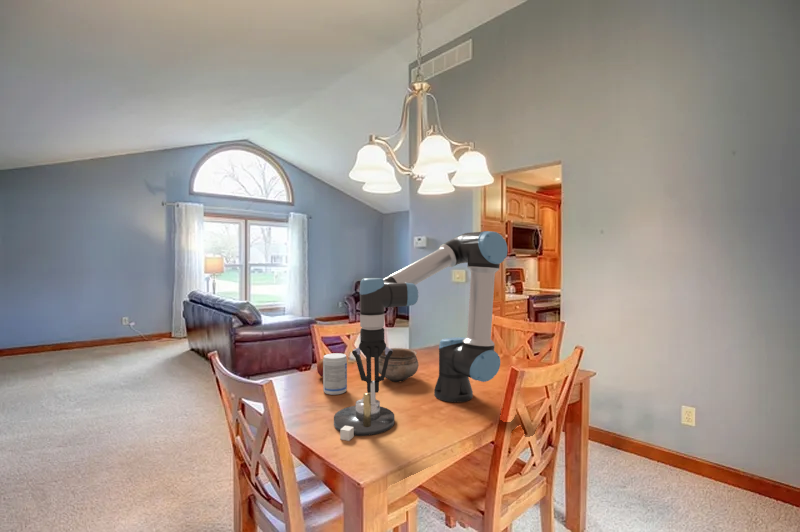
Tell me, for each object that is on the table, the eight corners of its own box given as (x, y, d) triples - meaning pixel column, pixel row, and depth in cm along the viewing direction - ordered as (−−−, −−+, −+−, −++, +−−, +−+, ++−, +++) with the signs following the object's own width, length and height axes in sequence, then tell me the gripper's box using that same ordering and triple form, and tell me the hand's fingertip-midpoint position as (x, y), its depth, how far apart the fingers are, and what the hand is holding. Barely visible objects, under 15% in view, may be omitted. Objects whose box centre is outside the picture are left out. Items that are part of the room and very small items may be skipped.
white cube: (353, 436, 122) (353, 426, 122) (349, 440, 119) (349, 430, 119) (344, 435, 123) (345, 425, 123) (340, 439, 120) (340, 429, 120)
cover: (381, 420, 129) (381, 401, 129) (356, 421, 127) (356, 403, 127) (377, 410, 137) (378, 393, 137) (354, 412, 135) (354, 394, 135)
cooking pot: (406, 391, 163) (406, 361, 163) (365, 385, 170) (365, 356, 170) (426, 374, 186) (426, 348, 186) (389, 370, 194) (389, 345, 193)
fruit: (339, 380, 176) (339, 358, 176) (316, 382, 174) (316, 359, 174) (338, 373, 186) (338, 352, 186) (316, 374, 184) (317, 353, 184)
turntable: (399, 432, 124) (400, 394, 124) (335, 438, 120) (335, 398, 120) (388, 408, 144) (389, 375, 144) (332, 412, 140) (332, 378, 140)
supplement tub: (350, 392, 161) (351, 356, 160) (328, 397, 155) (329, 359, 155) (340, 386, 169) (340, 351, 168) (319, 390, 163) (319, 354, 163)
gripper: (393, 325, 128) (394, 398, 128) (353, 325, 128) (354, 398, 129) (392, 329, 120) (393, 407, 121) (350, 329, 121) (351, 407, 121)
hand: (373, 402), depth 125 cm, fingers closed
